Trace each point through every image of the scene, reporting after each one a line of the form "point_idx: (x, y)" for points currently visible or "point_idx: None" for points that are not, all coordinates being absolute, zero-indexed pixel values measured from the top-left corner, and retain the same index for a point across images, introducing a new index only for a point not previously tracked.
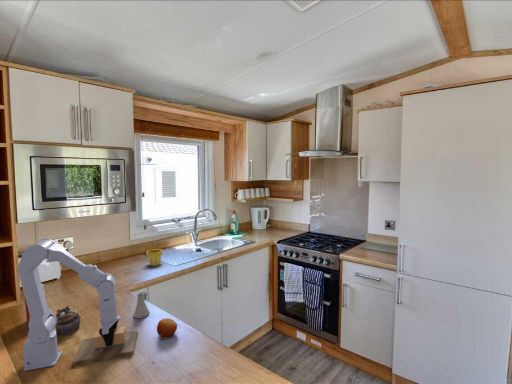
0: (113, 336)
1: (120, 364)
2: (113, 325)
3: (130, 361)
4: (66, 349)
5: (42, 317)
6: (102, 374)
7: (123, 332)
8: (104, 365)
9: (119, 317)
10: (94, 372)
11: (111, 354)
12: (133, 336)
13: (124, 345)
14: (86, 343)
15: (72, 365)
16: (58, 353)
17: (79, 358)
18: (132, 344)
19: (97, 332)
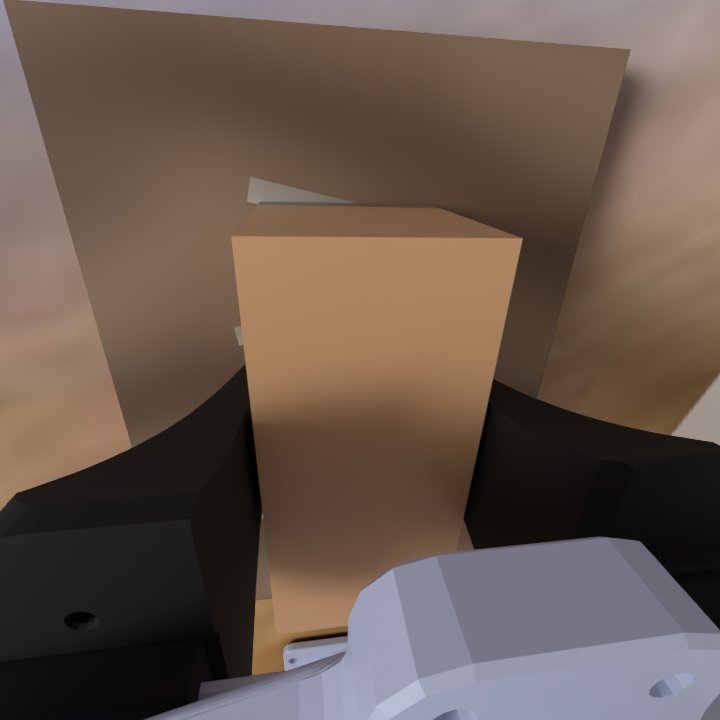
0: (503, 397)
1: (671, 205)
2: (239, 504)
3: (693, 91)
4: (257, 634)
5: None
6: (700, 338)
7: (505, 236)
8: (593, 349)
9: (608, 689)
10: (635, 399)
11: (547, 324)
12: (227, 74)
13: (437, 200)
14: (260, 570)
15: None
16: (314, 657)
17: (468, 547)
18: (463, 73)
19: (323, 620)
